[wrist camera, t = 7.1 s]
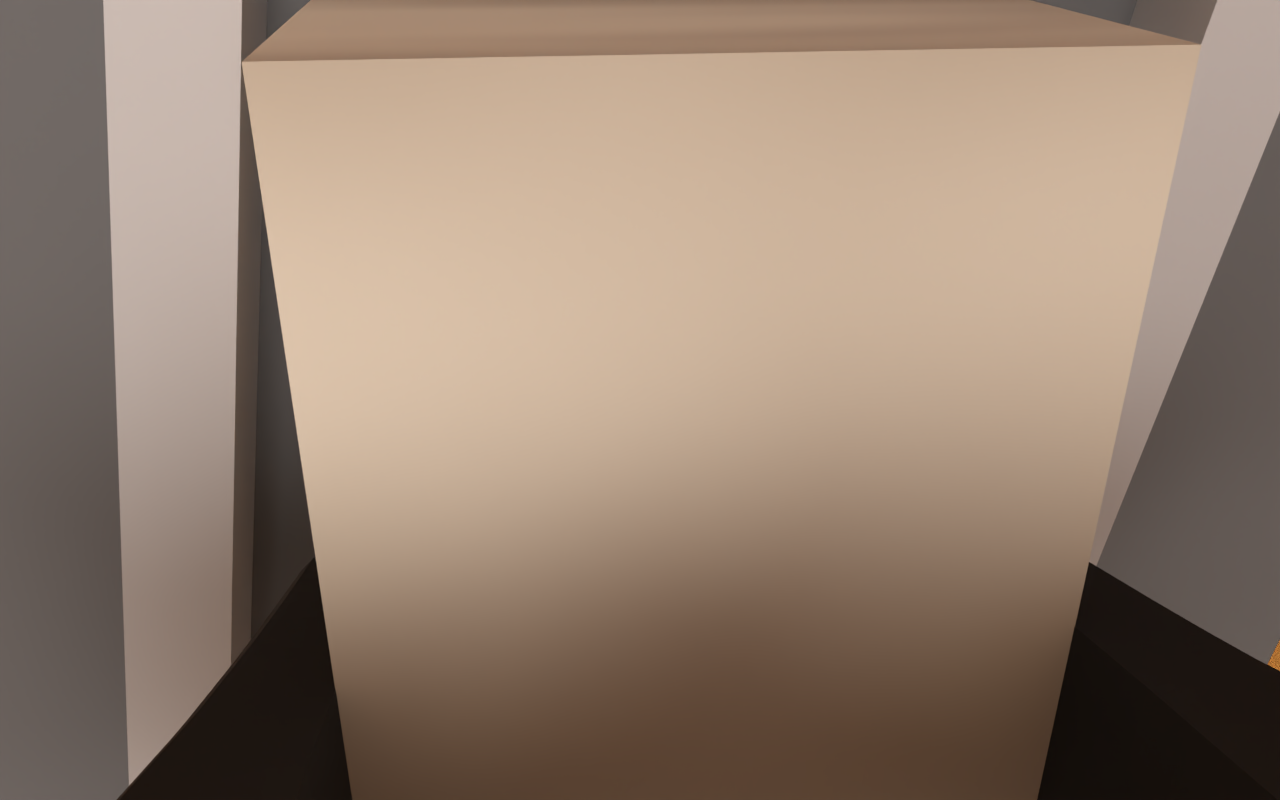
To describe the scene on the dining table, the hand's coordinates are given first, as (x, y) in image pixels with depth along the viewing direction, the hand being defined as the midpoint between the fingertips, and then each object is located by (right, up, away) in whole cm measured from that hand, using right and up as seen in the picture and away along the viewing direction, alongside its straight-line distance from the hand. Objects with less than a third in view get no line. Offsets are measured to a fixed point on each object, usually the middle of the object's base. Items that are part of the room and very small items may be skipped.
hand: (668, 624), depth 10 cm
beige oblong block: (0, +1, +1) cm, 1 cm away
